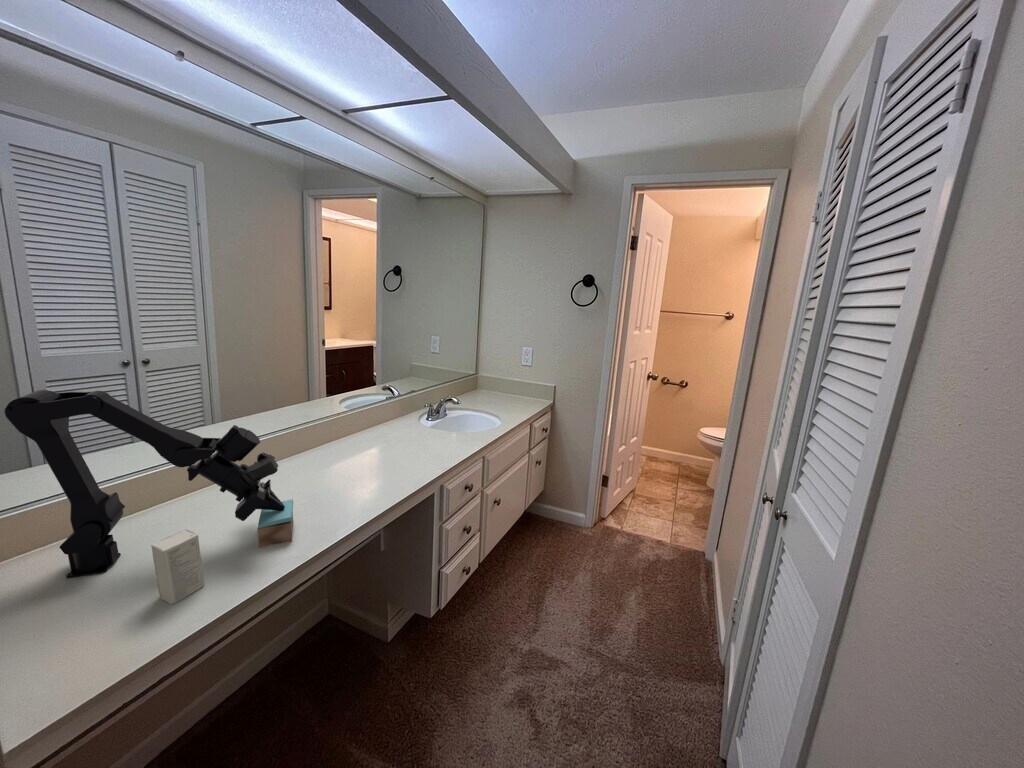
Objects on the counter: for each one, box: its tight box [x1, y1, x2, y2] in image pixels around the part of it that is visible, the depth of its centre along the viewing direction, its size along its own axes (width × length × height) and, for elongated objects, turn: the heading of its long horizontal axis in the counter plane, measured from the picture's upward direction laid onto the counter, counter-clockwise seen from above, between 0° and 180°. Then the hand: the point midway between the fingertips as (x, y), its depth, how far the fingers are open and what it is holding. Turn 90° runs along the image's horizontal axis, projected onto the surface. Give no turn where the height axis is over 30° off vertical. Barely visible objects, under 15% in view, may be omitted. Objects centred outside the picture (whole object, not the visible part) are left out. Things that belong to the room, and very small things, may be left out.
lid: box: [257, 498, 294, 528], centre depth 102 cm, size 7×9×1 cm
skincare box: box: [150, 528, 205, 605], centre depth 81 cm, size 6×4×12 cm
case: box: [257, 511, 294, 548], centre depth 103 cm, size 7×9×5 cm
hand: (283, 508), depth 102 cm, fingers closed, pressing on lid
